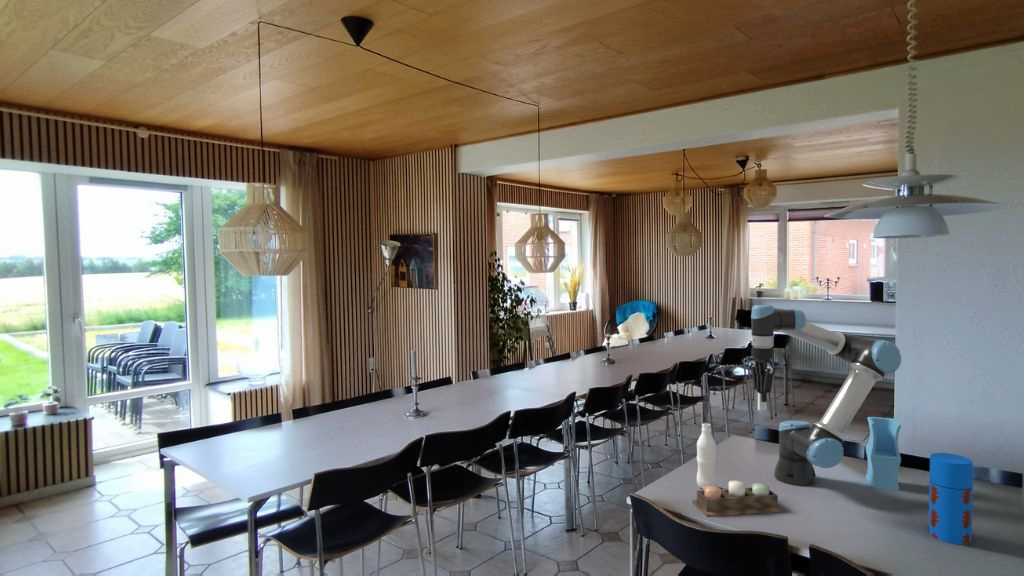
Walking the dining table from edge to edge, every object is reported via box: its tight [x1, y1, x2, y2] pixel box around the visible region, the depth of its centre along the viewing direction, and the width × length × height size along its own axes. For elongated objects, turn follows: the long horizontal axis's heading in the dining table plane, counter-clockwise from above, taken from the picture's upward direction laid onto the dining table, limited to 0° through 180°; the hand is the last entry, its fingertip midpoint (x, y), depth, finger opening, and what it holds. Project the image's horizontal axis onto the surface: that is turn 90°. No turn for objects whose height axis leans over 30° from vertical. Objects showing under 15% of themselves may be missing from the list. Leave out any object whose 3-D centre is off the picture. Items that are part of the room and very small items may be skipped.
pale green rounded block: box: [751, 482, 770, 496], centre depth 206 cm, size 6×6×5 cm
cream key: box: [728, 480, 746, 497], centre depth 205 cm, size 6×6×5 cm
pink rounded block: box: [705, 486, 721, 499], centre depth 204 cm, size 6×6×5 cm
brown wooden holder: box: [691, 487, 784, 517], centre depth 205 cm, size 28×12×5 cm, turn 96°
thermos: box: [928, 452, 974, 545], centre depth 181 cm, size 11×11×25 cm
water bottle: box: [696, 422, 717, 490], centre depth 222 cm, size 7×7×25 cm
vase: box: [865, 416, 902, 491], centre depth 224 cm, size 10×10×25 cm
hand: (762, 409), depth 213 cm, fingers closed
